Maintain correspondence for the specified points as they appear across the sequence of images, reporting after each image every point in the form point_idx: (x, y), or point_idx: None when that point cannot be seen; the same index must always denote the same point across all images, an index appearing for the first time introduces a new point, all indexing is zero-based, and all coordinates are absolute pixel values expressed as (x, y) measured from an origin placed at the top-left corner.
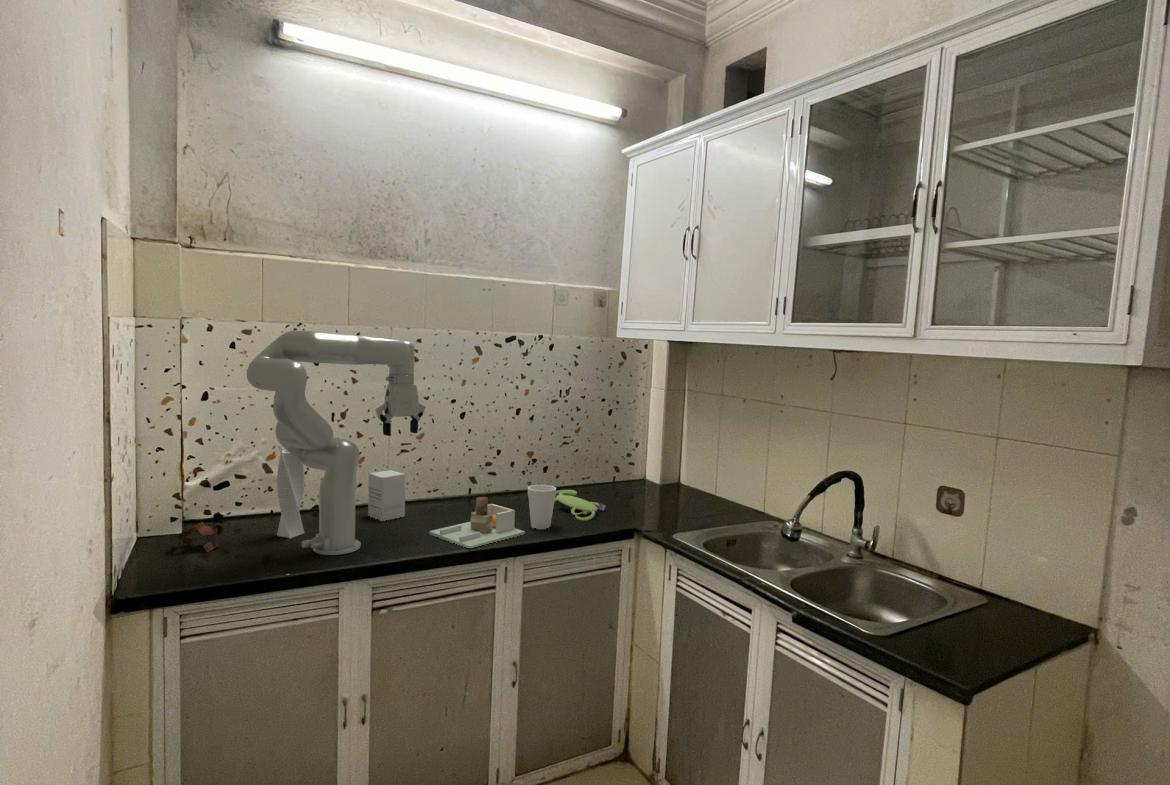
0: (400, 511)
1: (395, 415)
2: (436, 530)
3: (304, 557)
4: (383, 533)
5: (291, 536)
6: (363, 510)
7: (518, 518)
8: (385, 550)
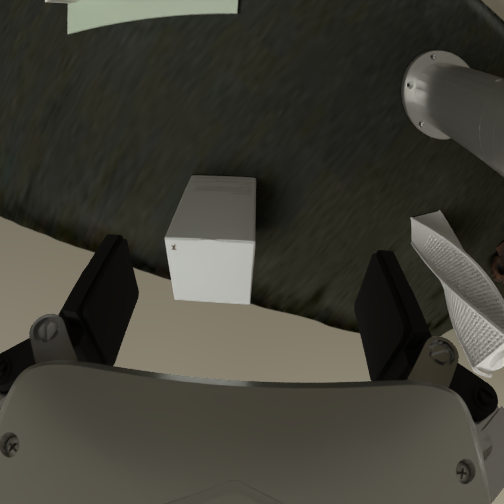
0: (202, 181)
1: (432, 389)
2: (218, 7)
3: None
4: (314, 98)
5: (437, 213)
6: None
7: (14, 23)
8: (388, 4)
